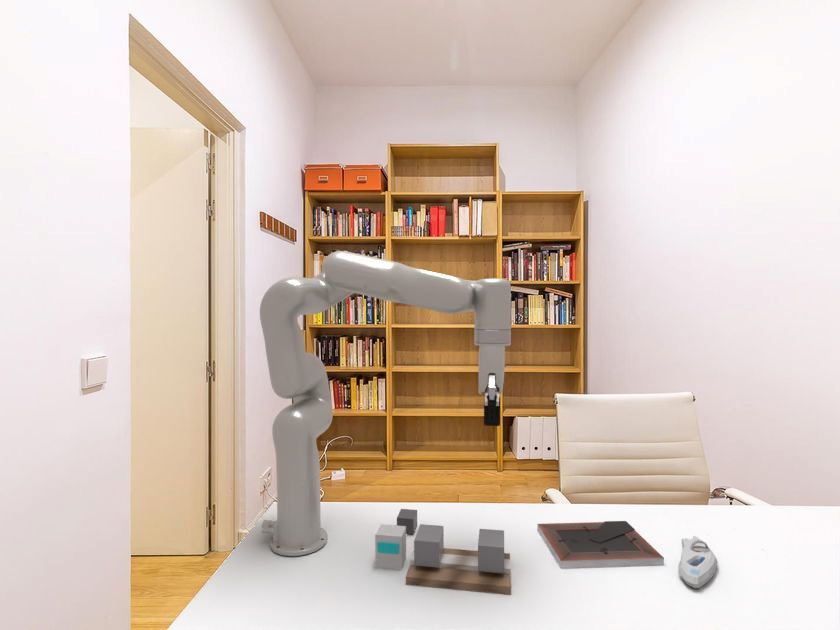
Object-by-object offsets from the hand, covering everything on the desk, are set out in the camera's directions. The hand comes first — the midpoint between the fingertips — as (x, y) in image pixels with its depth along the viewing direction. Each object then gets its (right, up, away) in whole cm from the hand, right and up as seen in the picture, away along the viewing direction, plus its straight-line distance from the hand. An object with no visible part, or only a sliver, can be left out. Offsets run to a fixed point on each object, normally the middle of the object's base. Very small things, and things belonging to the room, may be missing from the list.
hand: (492, 419), depth 101 cm
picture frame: (+24, -31, +6) cm, 39 cm away
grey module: (-21, -30, 0) cm, 37 cm away
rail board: (-7, -30, -4) cm, 31 cm away
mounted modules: (-7, -28, -4) cm, 29 cm away
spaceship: (+41, -30, 0) cm, 51 cm away
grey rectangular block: (-18, -30, +14) cm, 38 cm away
